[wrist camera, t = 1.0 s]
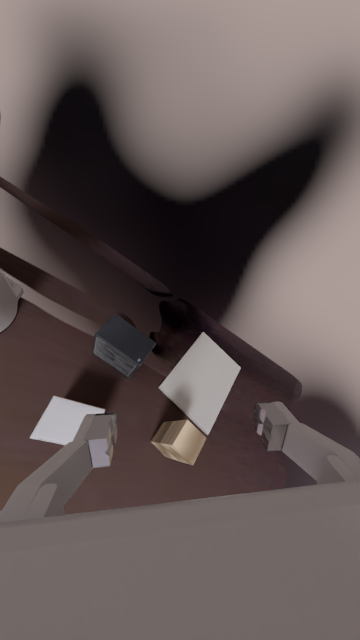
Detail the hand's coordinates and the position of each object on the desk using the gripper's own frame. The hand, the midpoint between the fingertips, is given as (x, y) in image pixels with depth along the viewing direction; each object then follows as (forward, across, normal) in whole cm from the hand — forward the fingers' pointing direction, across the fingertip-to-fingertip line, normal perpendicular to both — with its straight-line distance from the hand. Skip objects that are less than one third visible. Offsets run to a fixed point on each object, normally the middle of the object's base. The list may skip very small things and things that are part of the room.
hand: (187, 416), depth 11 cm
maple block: (+22, +1, +28) cm, 36 cm away
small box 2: (+32, +11, +14) cm, 37 cm away
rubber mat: (+34, -10, +22) cm, 42 cm away
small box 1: (+21, +18, +21) cm, 35 cm away
